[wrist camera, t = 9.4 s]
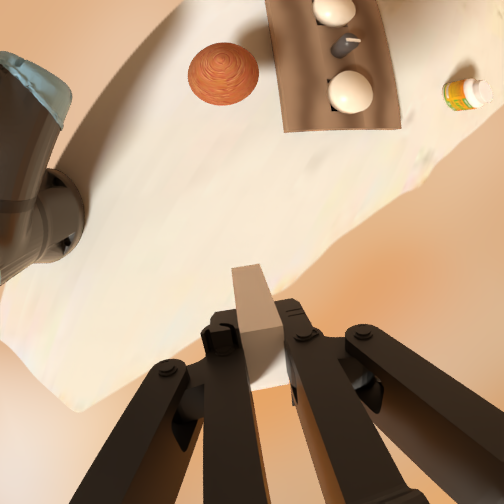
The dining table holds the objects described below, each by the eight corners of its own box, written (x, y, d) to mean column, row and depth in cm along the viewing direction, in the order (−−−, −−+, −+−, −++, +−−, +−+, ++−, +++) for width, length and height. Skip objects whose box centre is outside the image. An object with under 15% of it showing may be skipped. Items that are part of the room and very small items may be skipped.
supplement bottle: (440, 104, 42) (475, 99, 33) (441, 79, 41) (476, 70, 31) (460, 115, 43) (495, 112, 34) (461, 90, 41) (495, 84, 32)
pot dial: (331, 58, 36) (345, 46, 31) (329, 44, 36) (341, 31, 31) (347, 59, 37) (362, 48, 32) (344, 45, 36) (358, 32, 31)
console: (284, 132, 42) (288, 130, 39) (263, -5, 35) (266, -14, 32) (391, 129, 43) (401, 128, 40) (367, 2, 36) (374, -5, 33)
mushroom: (198, 66, 38) (187, 24, 24) (253, 69, 39) (267, 29, 25) (192, 116, 40) (177, 94, 26) (248, 120, 41) (261, 99, 27)
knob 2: (322, 117, 41) (335, 111, 36) (317, 79, 40) (329, 69, 34) (359, 116, 42) (375, 112, 36) (354, 80, 40) (369, 71, 35)
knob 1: (309, 33, 37) (320, 20, 32) (303, 3, 36) (312, -12, 30) (345, 35, 38) (359, 23, 32) (338, 6, 36) (350, -8, 31)
